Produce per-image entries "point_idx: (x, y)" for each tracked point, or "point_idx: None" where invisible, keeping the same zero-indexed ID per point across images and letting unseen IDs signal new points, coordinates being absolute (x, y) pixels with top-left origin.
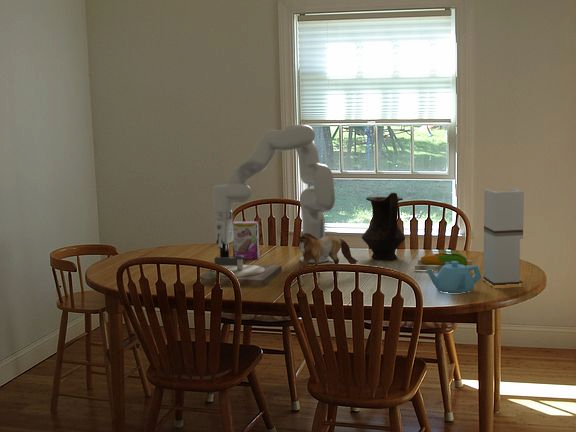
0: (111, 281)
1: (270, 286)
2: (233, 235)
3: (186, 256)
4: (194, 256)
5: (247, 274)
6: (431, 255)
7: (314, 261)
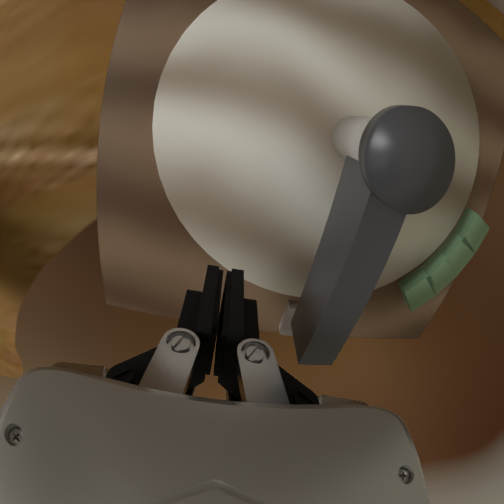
0: None
1: (489, 27)
2: (10, 426)
3: (15, 371)
4: (5, 357)
5: (463, 100)
6: None
7: None
